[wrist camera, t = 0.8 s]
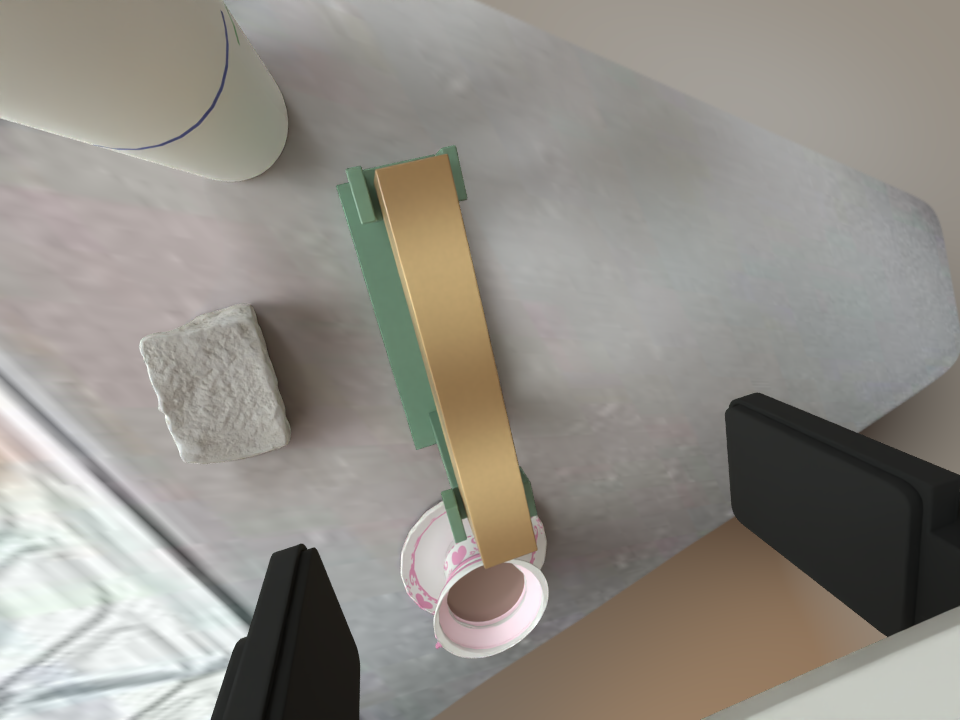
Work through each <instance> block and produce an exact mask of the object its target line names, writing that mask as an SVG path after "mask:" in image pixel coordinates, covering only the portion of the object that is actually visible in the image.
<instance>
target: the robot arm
mask: <svg viewBox="0 0 960 720" xmlns="http://www.w3.org/2000/svg"><path fill="white" fill-rule="evenodd" d="M725 422H726V436H727V450H728V463H729V477H730V491H731V505H732V510H733V513H734V515H735V516H736V518H737V519H738V520H739V521H740V522H741V523H742V524H743V525H744V526H745V527H747V528H748V529H749V530H751V531H752V532H753V533H754V534H756V535H757V536H758V537H759V538H761V539H762V540H763V541H765V542H766V543H767V544H768V545H770V546H771V547H772V548H774V549H775V550H776V551H777V552H779V553H780V554H781V555H783V556H784V557H785V558H786V559H788V560H789V561H790V562H791V563H793V564H794V565H795V566H797V567H798V568H799V569H800V570H802V571H803V572H804V573H806V574H807V575H808V576H809V577H811V578H812V579H813V580H815V581H816V582H817V583H818V584H820V585H821V586H822V587H823V588H825V589H826V590H827V591H829V592H830V593H831V594H833V595H834V596H835V597H836V598H838V599H839V600H840V601H842V602H843V603H844V604H845V605H847V606H848V607H849V608H850V609H852V610H853V611H854V612H855V613H857V614H858V615H859V616H861V617H862V618H863V619H864V620H866V621H867V622H868V623H870V624H871V625H872V626H873V627H875V628H876V629H877V630H879V631H880V632H881V633H883V634H884V635H886V636H887V638H885V639H882V640H880V641H878V642H875V643H873V644H871V645H869V646H866V647H864V648H862V649H859V650H857V651H855V652H853V653H850V654H848V655H846V656H843V657H841V658H839V659H836V660H834V661H832V662H830V663H827V664H825V665H823V666H820V667H818V668H816V669H814V670H812V671H809V672H807V673H805V674H802V675H800V676H798V677H796V678H793V679H791V680H789V681H787V682H784V683H782V684H780V685H778V686H775V687H773V688H771V689H768V690H766V691H764V692H762V693H759V694H757V695H755V696H753V697H750V698H748V699H746V700H744V701H742V702H739V703H737V704H735V705H733V706H730V707H728V708H726V709H723V710H721V711H719V712H717V713H714V714H712V715H710V716H708V717H706V718H703V719H701V720H960V475H958V474H956V473H954V472H951V471H949V470H946V469H944V468H941V467H939V466H936V465H934V464H932V463H929V462H927V461H924V460H922V459H919V458H917V457H915V456H912V455H909V454H907V453H905V452H902V451H900V450H898V449H895V448H893V447H890V446H888V445H885V444H883V443H881V442H878V441H875V440H873V439H871V438H868V437H866V436H864V435H861V434H859V433H856V432H854V431H851V430H849V429H846V428H844V427H842V426H839V425H837V424H834V423H832V422H829V421H827V420H825V419H822V418H820V417H817V416H815V415H812V414H810V413H808V412H805V411H803V410H800V409H798V408H795V407H793V406H791V405H788V404H786V403H783V402H781V401H778V400H776V399H774V398H771V397H769V396H766V395H764V394H761V393H753V394H750V395H747V396H744V397H741V398H738V399H735V400H733V401H732V402H731V403H730V405H729V408H728V409H727V410H726V412H725ZM359 701H360V660H359V654H358V650H357V647H356V644H355V641H354V639H353V637H352V634H351V632H350V629H349V627H348V624H347V622H346V619H345V617H344V614H343V612H342V609H341V607H340V605H339V602H338V600H337V597H336V595H335V592H334V590H333V587H332V585H331V582H330V580H329V577H328V575H327V573H326V570H325V568H324V565H323V563H322V560H321V558H320V555H319V553H318V551H317V549H316V548H311V549H308V550H307V548H306V546H305V545H304V544H299V545H296V546H293V547H290V548H287V549H284V550H281V551H278V552H275V553H273V554H272V556H271V559H270V562H269V565H268V569H267V572H266V575H265V579H264V582H263V585H262V589H261V592H260V595H259V599H258V602H257V605H256V609H255V612H254V615H253V619H252V622H251V625H250V629H249V632H248V635H247V637H244V638H242V639H240V640H239V641H238V642H237V643H236V645H235V647H234V650H233V652H232V655H231V658H230V661H229V664H228V667H227V671H226V674H225V677H224V680H223V683H222V686H221V689H220V692H219V695H218V698H217V701H216V705H215V708H214V711H213V714H212V717H211V720H359Z"/></svg>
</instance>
